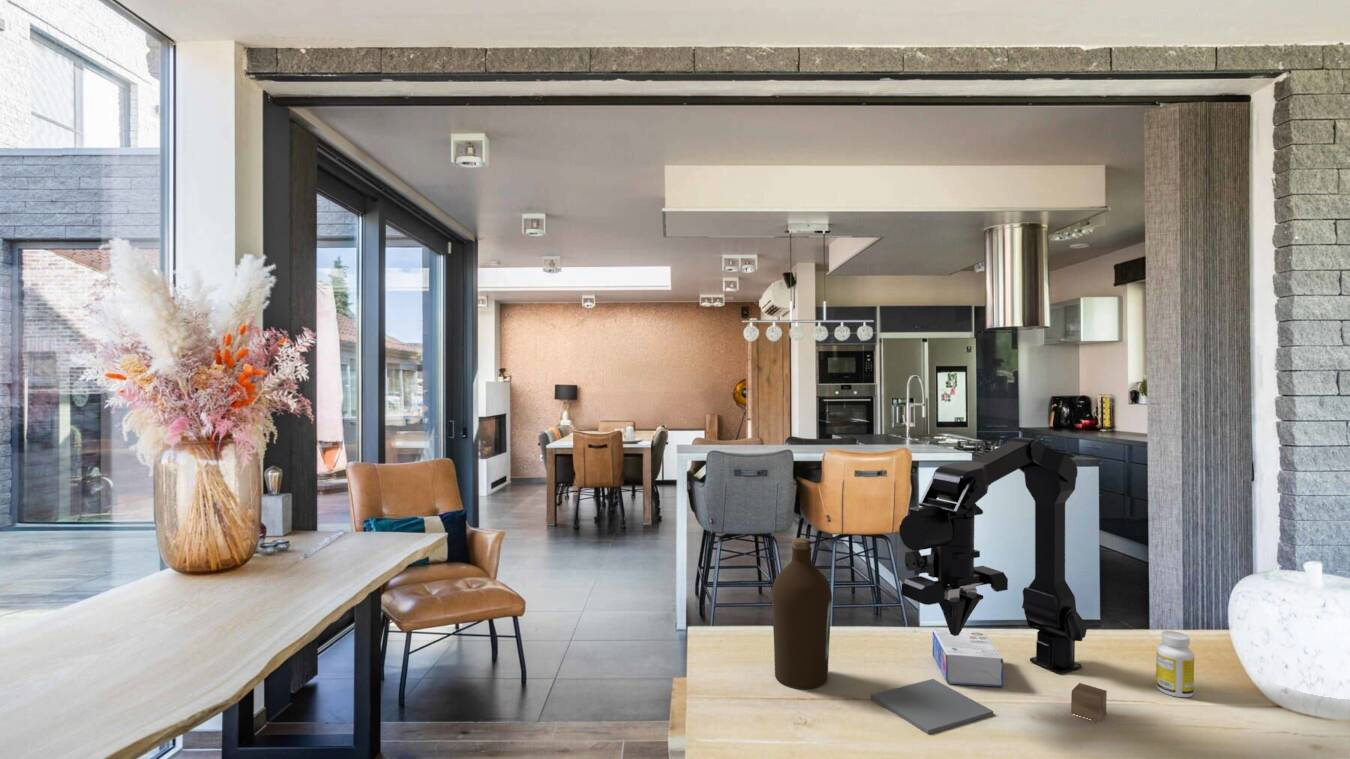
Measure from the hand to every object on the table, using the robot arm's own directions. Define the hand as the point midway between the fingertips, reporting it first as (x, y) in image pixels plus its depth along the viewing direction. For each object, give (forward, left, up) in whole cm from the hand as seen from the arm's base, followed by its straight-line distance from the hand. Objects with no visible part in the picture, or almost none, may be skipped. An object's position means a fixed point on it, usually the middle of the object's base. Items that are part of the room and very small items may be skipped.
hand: (954, 634), depth 122 cm
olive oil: (+18, -18, -11) cm, 28 cm away
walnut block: (-16, +13, -11) cm, 23 cm away
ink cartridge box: (-7, -2, -8) cm, 11 cm away
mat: (+5, 0, -11) cm, 12 cm away
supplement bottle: (-37, +14, -11) cm, 41 cm away
